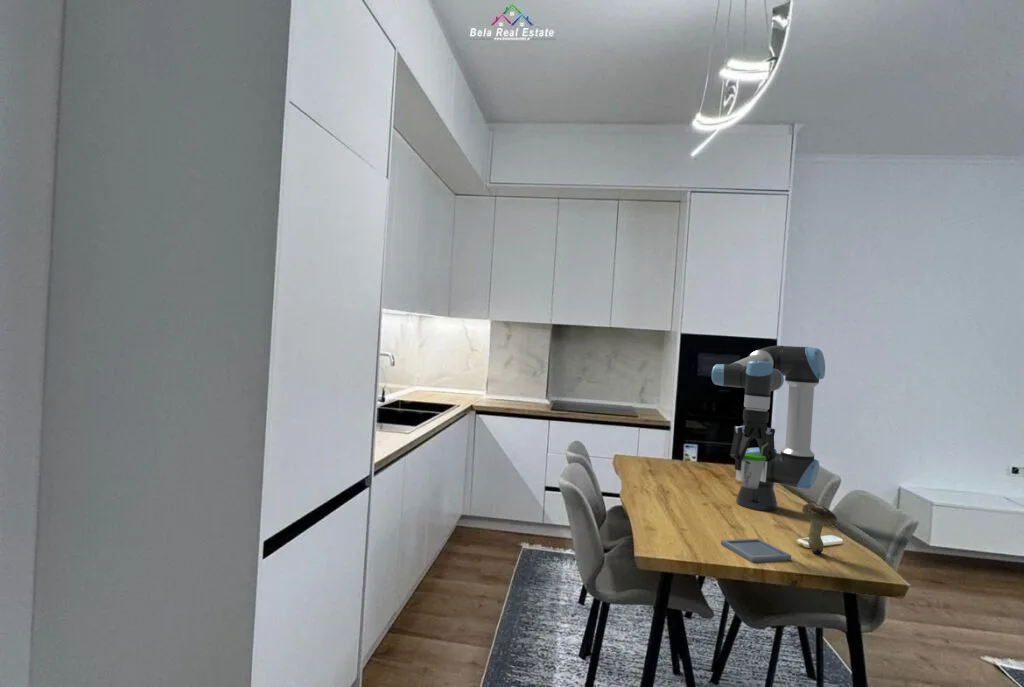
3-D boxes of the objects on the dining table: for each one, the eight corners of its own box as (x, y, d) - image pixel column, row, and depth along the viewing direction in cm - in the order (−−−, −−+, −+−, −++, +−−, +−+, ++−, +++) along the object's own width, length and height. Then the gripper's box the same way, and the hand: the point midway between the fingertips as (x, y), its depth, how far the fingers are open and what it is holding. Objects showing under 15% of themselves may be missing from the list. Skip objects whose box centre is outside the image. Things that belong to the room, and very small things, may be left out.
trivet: (758, 542, 181) (758, 538, 181) (790, 560, 167) (791, 555, 167) (720, 544, 177) (721, 539, 177) (751, 562, 163) (751, 557, 163)
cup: (731, 484, 181) (735, 438, 181) (750, 484, 184) (753, 438, 184) (750, 491, 173) (753, 442, 174) (769, 490, 176) (772, 443, 177)
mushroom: (793, 546, 179) (796, 500, 179) (818, 547, 180) (822, 501, 180) (811, 558, 170) (815, 509, 170) (838, 559, 170) (842, 510, 170)
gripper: (775, 409, 185) (769, 478, 185) (721, 406, 180) (715, 477, 180) (791, 412, 178) (786, 484, 178) (736, 409, 172) (730, 483, 172)
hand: (750, 480), depth 179 cm, fingers closed on cup, 8 cm apart
